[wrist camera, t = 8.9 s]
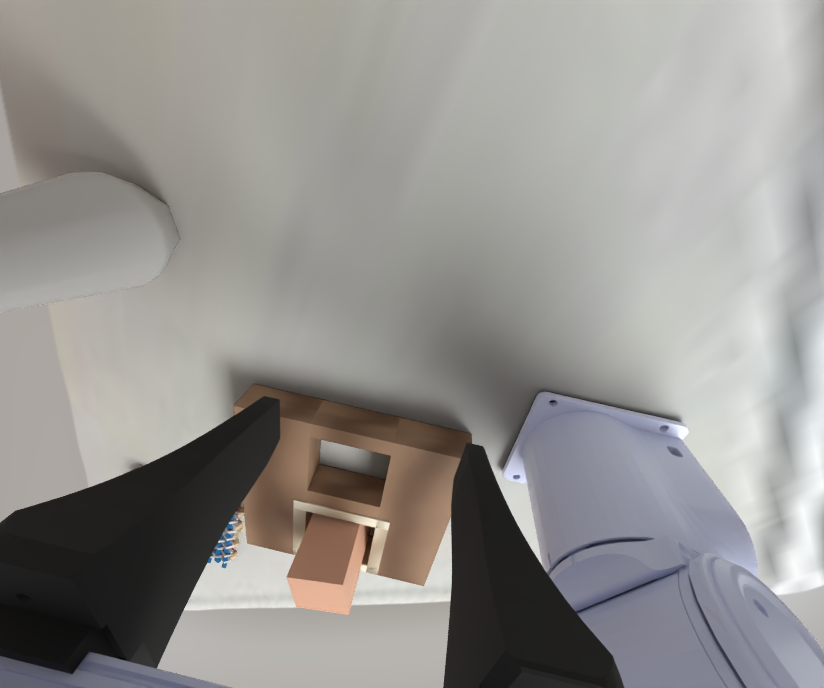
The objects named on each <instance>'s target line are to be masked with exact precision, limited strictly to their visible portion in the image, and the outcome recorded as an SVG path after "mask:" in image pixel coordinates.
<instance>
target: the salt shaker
mask: <svg viewBox="0 0 824 688" xmlns="http://www.w3.org/2000/svg"><path fill="white" fill-rule="evenodd" d="M179 240H180V237H179V234H178V232H177V229H176V226H175V223H174V220H173V217H172V215H171V212H170V209H169V206H167V205H166V204H164V203H163V202H161V201H160V200H158V199H157V198H156V197H154V196H153V195H151V194H150V193H148V192H147V191H145V190H144V189H142V188H141V187H140V186H138V185H136V184H133V183H130V182H128V181H125V180H122V179H120V178H117V177H114V176H112V175H109V174H106V173H103V172H74V173H67V174H64V175H60V176H57V177H54V178H50V179H47V180H44V181H40V182H37V183H34V184H30V185H27V186H24V187H20V188H17V189H14V190H10V191H7V192H4V193H1V194H0V313H2V312H7V311H12V310H17V309H23V308H28V307H34V306H39V305H44V304H50V303H55V302H60V301H66V300H71V299H76V298H82V297H87V296H92V295H98V294H103V293H108V292H114V291H119V290H124V289H130V288H135V287H140V286H143V285H145V284H146V283H148V282H149V281H150V280H152V279H153V278H155V277H156V276H157V275H159V274H160V273H162V272H163V270H164V268H165V266H166V264H167V261H168V259H169V257H170V255H171V252H172V250H173V249H174V247H175V246H176V245H177V243H178V242H179Z"/></svg>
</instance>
